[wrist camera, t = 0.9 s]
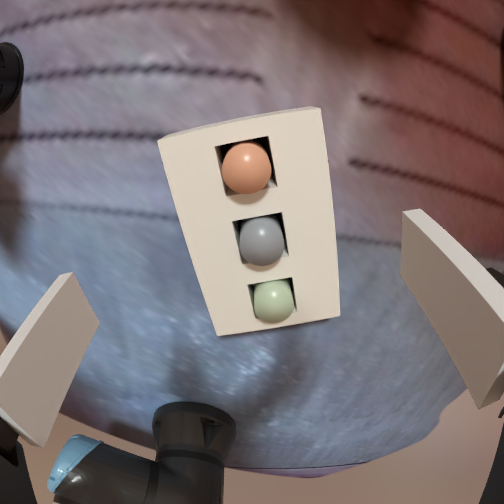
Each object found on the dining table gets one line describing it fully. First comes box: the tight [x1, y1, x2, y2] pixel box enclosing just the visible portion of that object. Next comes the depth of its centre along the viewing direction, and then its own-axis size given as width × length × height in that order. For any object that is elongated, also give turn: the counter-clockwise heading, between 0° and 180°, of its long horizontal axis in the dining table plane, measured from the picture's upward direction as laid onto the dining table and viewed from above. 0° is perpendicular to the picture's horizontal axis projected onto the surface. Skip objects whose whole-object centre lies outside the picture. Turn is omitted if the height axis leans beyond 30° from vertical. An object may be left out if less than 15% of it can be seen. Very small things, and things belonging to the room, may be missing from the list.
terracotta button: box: [222, 140, 271, 194], centre depth 27 cm, size 4×4×4 cm
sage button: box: [254, 278, 294, 323], centre depth 34 cm, size 4×4×4 cm
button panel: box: [157, 107, 340, 336], centre depth 32 cm, size 22×14×4 cm, turn 11°
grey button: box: [239, 214, 284, 266], centre depth 30 cm, size 4×4×4 cm
